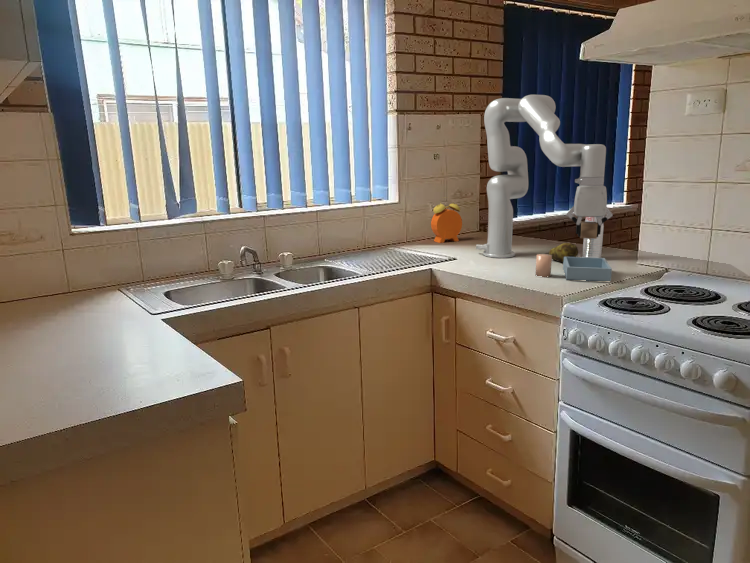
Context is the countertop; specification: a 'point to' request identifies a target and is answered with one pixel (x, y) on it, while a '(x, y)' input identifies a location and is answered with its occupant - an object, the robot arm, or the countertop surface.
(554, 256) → the potato
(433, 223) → the alarm clock
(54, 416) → the countertop surface
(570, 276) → the tote
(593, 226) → the cube
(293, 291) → the countertop surface
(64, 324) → the countertop surface
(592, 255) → the water bottle
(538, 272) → the cylinder
